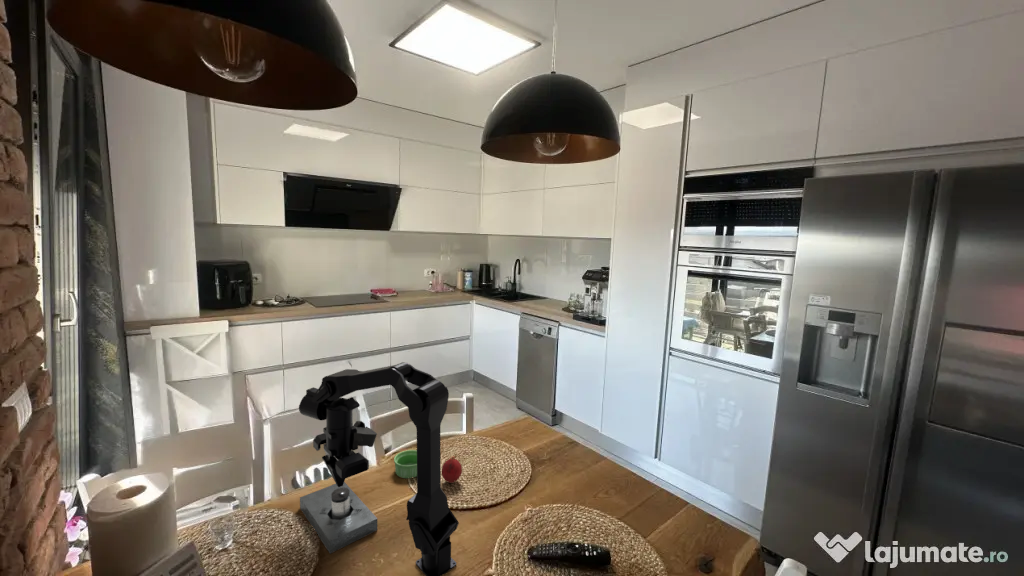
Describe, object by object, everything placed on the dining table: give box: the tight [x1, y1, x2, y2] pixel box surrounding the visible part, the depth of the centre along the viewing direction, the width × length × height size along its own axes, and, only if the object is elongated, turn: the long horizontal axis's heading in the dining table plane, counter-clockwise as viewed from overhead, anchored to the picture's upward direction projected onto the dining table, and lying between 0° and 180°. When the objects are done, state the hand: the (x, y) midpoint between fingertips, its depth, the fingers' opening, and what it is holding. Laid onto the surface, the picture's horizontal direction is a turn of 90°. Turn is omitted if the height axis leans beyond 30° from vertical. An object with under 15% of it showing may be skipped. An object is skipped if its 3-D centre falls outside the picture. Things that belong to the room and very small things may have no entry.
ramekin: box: [393, 449, 417, 479], centre depth 121 cm, size 9×9×4 cm
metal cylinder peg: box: [331, 488, 350, 520], centre depth 98 cm, size 4×4×8 cm
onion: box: [441, 455, 463, 484], centre depth 116 cm, size 6×6×8 cm
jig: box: [299, 481, 378, 555], centre depth 99 cm, size 20×11×3 cm, turn 44°
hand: (340, 485), depth 97 cm, fingers closed
